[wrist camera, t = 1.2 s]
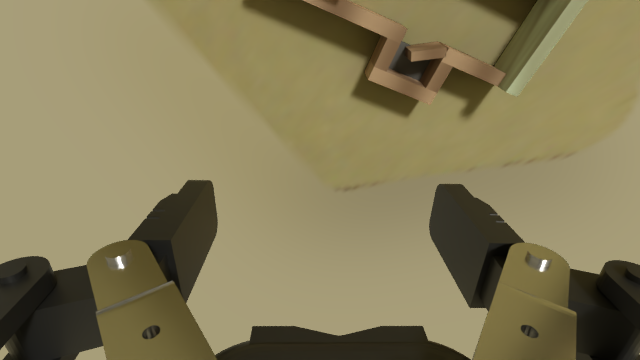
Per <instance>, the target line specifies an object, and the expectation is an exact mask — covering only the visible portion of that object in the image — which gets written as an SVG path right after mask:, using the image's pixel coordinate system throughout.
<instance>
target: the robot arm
mask: <svg viewBox="0 0 640 360" xmlns="http://www.w3.org/2000/svg"><path fill="white" fill-rule="evenodd" d="M217 223H218V222H217V212H216V204H215V196H214V188H213V184H212V182H211V181H209V180H188V181H187V182H186V183H185V185H184V186H183V188H182V189H181V190H180V191H179V193H178V194H171V195H169V196H168V197H166V198H164V199H163V200H161V201H160V202H159V203H158V204H157V205H156V206H155V208H154V209H153V211H152V212H150V214H149V215H148V216H147V219H145V220H144V221H143V222H142V223H141V224H140V226H139V227H138V228H137V229H136V230H135V232H134V233H133V234H132V235H131V236H130V238H129V239H128V240H124V241H119V242H116V243H112V244H109V245H107V246H105V247H103V248H101V249H100V250H98V251H96V252H95V253H94V254H93V255H92V256H91V257H90V258H89V260H88V262H87V265H84V266H79V267H74V268H69V269H63V270H58V271H53V270H52V268H51V266H50V263H49V261H48V260H47V259H46V258H43V257H39V256H30V257H23V258H19V259H14V260H11V261H8V262H5V263H3V264H0V349H1V348H2V347H3V346H4V345H5V347H6V348H7V350H8V352H9V353H8V354H7V355H6V356H5V358H4V359H3V360H75V358H76V357H77V355H78V354H79V352H82V351H85V350H89V349H93V348H97V347H101V346H104V350H105V354H106V358H107V360H471V359H469V358H468V357H466V356H464V355H463V354H461V353H459V352H457V351H455V350H454V349H451V348H449V347H447V346H444V345H442V344H439V343H435V342H432V341H428V339H427V336H426V334H425V331H424V328H423V326H380V327H376V328H372V329H367V330H363V331H359V332H355V333H351V334H346V335H342V336H337V335H332V334H327V333H322V332H318V331H314V330H309V329H305V328H300V327H296V326H253V327H252V332H251V337H250V341H246V342H243V343H240V344H237V345H234V346H232V347H230V348H227V349H225V350H223V351H221V352H220V353H218V354H216V355H214V353H213V351H212V349H211V347H210V346H209V344H208V342H207V340H206V338H205V337H204V335H203V333H202V331H201V330H200V328H199V326H198V324H197V322H196V321H195V319H194V317H193V315H192V313H191V312H190V310H189V308H188V306H187V305H186V302H187V300H188V297H189V295H190V293H191V291H192V288H193V286H194V284H195V282H196V279H197V277H198V275H199V273H200V270H201V268H202V266H203V263H204V261H205V259H206V257H207V254H208V252H209V250H210V247H211V245H212V243H213V241H214V238H215V236H216V233H217ZM429 228H430V229H429V230H430V235H431V238H432V240H433V242H434V244H435V245H436V247H437V249H438V251H439V253H440V255H441V257H442V258H443V260H444V262H445V264H446V266H447V267H448V269H449V271H450V273H451V275H452V276H453V278H454V280H455V282H456V284H457V286H458V287H459V289H460V291H461V293H462V294H463V296H464V298H465V300H466V302H467V304H468V306H469V307H470V308H486V309H487V310H488V314H487V317H486V320H485V323H484V326H483V329H482V332H481V335H480V338H479V341H478V344H477V347H476V349H475V353H474V355H473V359H472V360H640V355H639V353H640V265H638V264H635V263H631V262H627V261H620V260H613V261H608V262H606V263H605V265H604V267H603V269H602V271H601V273H600V274H594V273H589V272H584V271H579V270H574V269H570V266H569V264H568V263H567V261H566V260H565V259H564V258H563V257H561V256H560V255H559V254H557V253H556V252H554V251H552V250H550V249H548V248H546V247H543V246H540V245H537V244H532V243H525V242H524V241H523V240H522V239H521V238H520V237H519V236H518V235H517V234H516V233H515V231H514V230H513V229H512V228H511V227H510V226H509V225H508V224H507V223H504V220H503V219H502V218H501V217H500V216H498V215H497V213H496V212H495V211H494V210H493V209H492V207H490V205H488V204H486V203H484V202H483V201H481V200H479V199H478V198H474V197H473V196H472V195H471V194H470V193H469V192H468V190H467V189H466V188H465V187H464V186H463V185H461V184H439V185H438V186H437V189H436V192H435V197H434V202H433V207H432V212H431V217H430V224H429Z"/></svg>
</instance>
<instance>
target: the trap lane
mask: <svg viewBox="0 0 640 360" xmlns="http://www.w3.org/2000/svg"><path fill="white" fill-rule="evenodd" d="M303 1H305V2H307V3H310V4H312V5H314V6H317V7H319V8H321V9H323V10H326V11H328V12H330V13H332V14H335V15H337V16H339V17H341V18H344V19H346V20H348V21H351V22H353V23H355V24H357V25H360V26H362V27H364V28H366V29H369V30H371V31H373V32H375V33H378V34H380V35H381V37H380V39H379V41H378V43H377V45H376V48H375V50H374V52H373V54H372V56H371V58H370V61H369V63H368V65H367V67H366V69H365V75H366V77H367V79H368V80H370V81H372V82H375V83H377V84H380V85H382V86H385V87H387V88H390V89H392V90H395V91H397V92H399V93H402V94H404V95H407V96H409V97H412V98H414V99H417V100H419V101H422V102H424V103H427V104H429V105H430V104H431V103H432V101H433V99H434V98H435V96H436V94H437V93H438V91H439V89H440V88H441V86H442V84H443V83H444V81H445V79H446V78H447V76H448V74H449V73H450V71H451V69H452V68H453V67H455V68H457V69H459V70H462V71H464V72H466V73H468V74H471V75H473V76H475V77H477V78H480V79H482V80H484V81H486V82H489V83H491V84H493V85H495V86H498V87H499V88H501V89H502V90H504V91H505V92H507V93H510V94H512V95H514V96H516V97H518V95H519V94H520V93H521V91H522V90H523V88H524V87H525V86H526V84H527V83H528V82H529V80H530V79H531V78H532V76H533V75H534V73H535V72H536V71H537V69H538V68H539V67H540V65H541V64H542V63H543V61H544V60H545V58H546V57H547V56H548V54H549V53H550V52H551V50H552V49H553V48H554V46H555V45H556V43H557V42H558V41H559V39H560V38H561V37H562V35H563V34H564V33H565V31H566V30H567V29H568V27H569V26H570V24H571V23H572V22H573V20H574V19H575V18H576V16H577V15H578V14H579V12H580V11H581V9H582V8H583V7H584V5H585V4H586V3H587V1H588V0H537V2H536V3H535V5H534V6H533V8H532V9H531V11H530V12H529V14H528V15H527V17H526V18H525V20H524V21H523V23H522V25H521V26H520V28H519V29H518V31H517V32H516V34H515V35H514V37H513V38H512V40H511V41H510V43H509V44H508V46H507V47H506V49H505V50H504V52H503V53H502V55H501V56H500V58H499V59H498V61H497V62H496V64H495V65H494V67H493V66H491V65H489V64H487V63H485V62H482V61H480V60H478V59H476V58H474V57H471V56H469V55H467V54H465V53H463V52H460V51H458V50H456V49H454V48H452V47H450V46H447V45H445V44H443V43H441V42H431V43H423V44H415V45H409V44H407V43H405V42H402V39H403V37H404V35H405V33H406V31H407V28H405V27H404V26H403V25H401V24H399V23H397V22H395V21H392V20H390V19H388V18H386V17H384V16H382V15H379V14H377V13H375V12H373V11H371V10H368V9H366V8H364V7H362V6H360V5H357V4H355V3H353V2H351V1H349V0H303Z"/></svg>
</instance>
